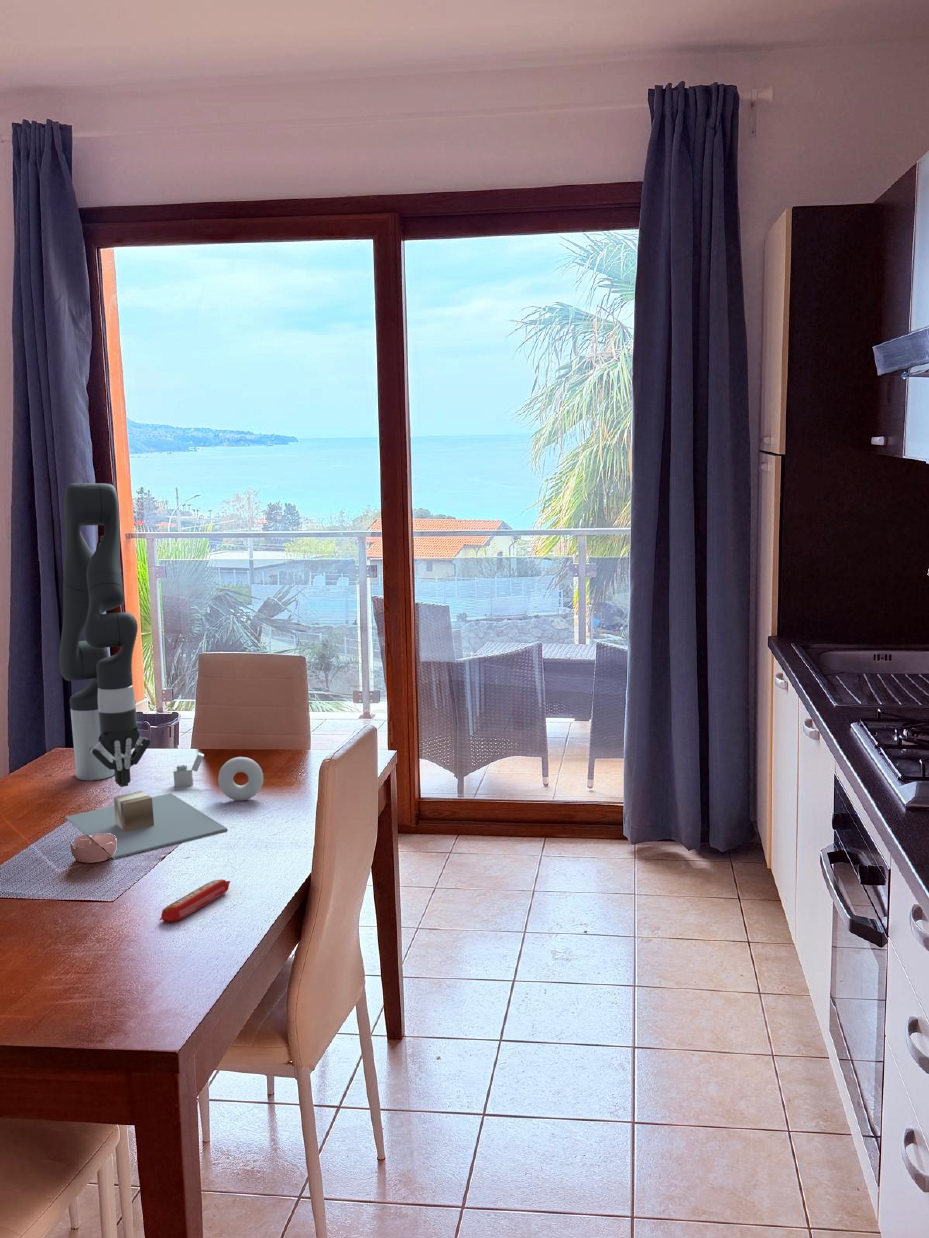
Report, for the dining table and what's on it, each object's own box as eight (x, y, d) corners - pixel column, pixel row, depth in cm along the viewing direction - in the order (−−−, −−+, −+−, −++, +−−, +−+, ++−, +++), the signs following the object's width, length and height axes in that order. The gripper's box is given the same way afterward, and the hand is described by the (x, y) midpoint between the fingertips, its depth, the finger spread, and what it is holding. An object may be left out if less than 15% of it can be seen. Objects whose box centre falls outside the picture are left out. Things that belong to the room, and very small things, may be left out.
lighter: (174, 789, 257) (172, 755, 255) (175, 786, 258) (172, 753, 257) (205, 786, 258) (203, 753, 257) (206, 784, 260) (204, 751, 258)
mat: (64, 818, 238) (64, 816, 238) (170, 795, 252) (170, 793, 252) (113, 859, 214) (112, 856, 214) (227, 830, 229) (227, 828, 228)
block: (113, 796, 232) (123, 803, 227) (141, 790, 235) (152, 797, 230) (115, 824, 233) (126, 831, 228) (143, 817, 236) (154, 825, 231)
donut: (265, 796, 250) (262, 753, 248) (264, 801, 247) (261, 757, 245) (220, 799, 249) (217, 756, 247) (218, 804, 245) (215, 760, 244)
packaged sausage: (217, 888, 200) (216, 873, 199) (233, 892, 198) (232, 876, 198) (156, 924, 186) (155, 908, 185) (173, 928, 184) (172, 911, 183)
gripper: (140, 698, 239) (146, 775, 242) (79, 708, 231) (86, 787, 235) (154, 704, 233) (159, 783, 236) (91, 715, 226) (98, 796, 229)
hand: (123, 785), depth 235 cm, fingers closed
